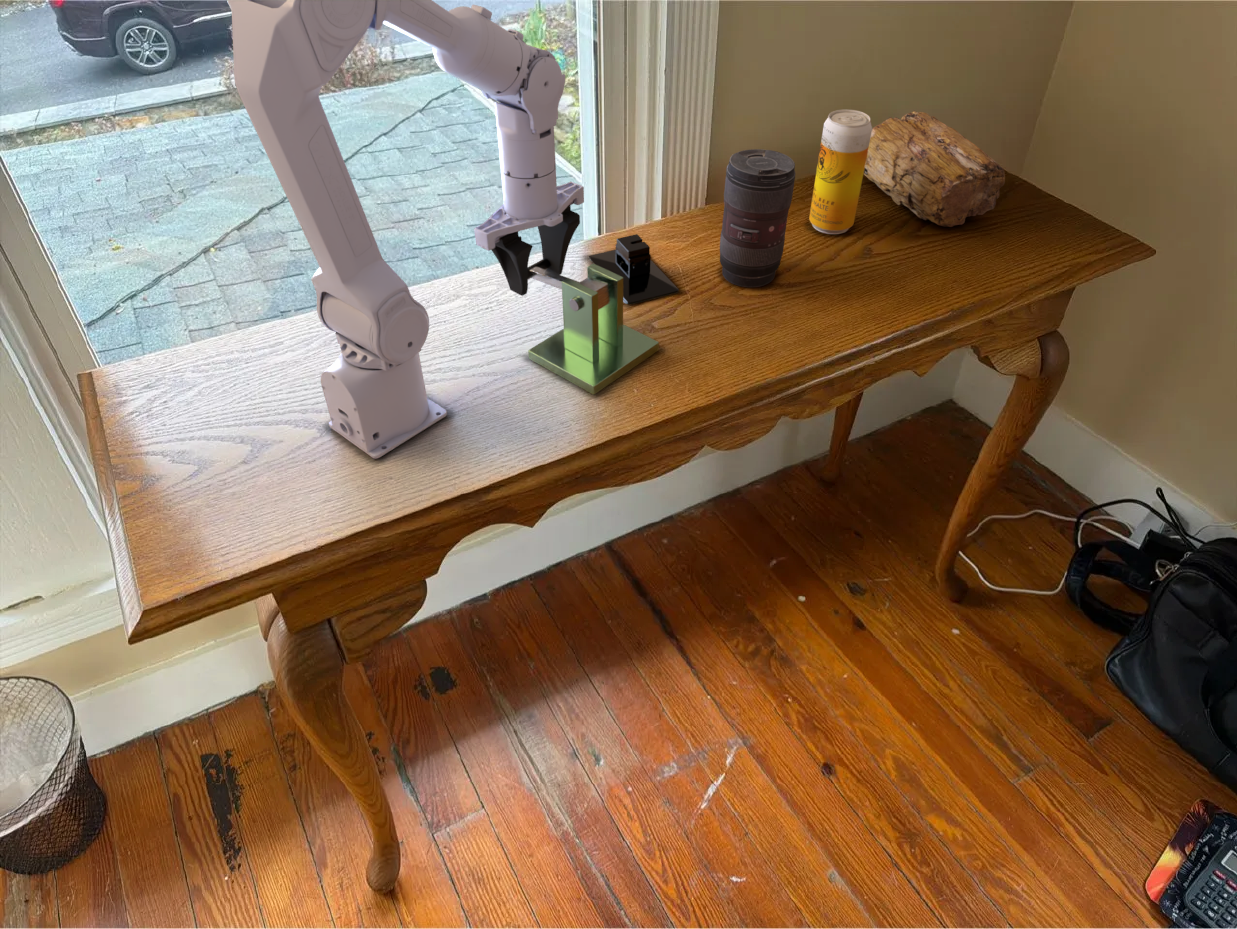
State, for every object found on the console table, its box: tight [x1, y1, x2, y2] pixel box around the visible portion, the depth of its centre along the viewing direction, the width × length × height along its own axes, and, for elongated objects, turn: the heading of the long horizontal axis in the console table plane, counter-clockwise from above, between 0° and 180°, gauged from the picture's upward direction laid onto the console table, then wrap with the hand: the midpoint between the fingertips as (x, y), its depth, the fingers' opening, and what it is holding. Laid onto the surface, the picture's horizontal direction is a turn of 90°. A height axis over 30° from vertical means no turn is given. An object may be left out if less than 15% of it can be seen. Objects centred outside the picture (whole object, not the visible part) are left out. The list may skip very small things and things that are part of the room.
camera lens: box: [719, 148, 796, 288], centre depth 110 cm, size 8×8×15 cm
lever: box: [527, 258, 610, 310], centre depth 99 cm, size 12×5×2 cm, turn 49°
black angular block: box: [588, 233, 680, 306], centre depth 113 cm, size 12×7×5 cm, turn 25°
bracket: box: [527, 263, 660, 396], centre depth 99 cm, size 10×11×10 cm
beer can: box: [808, 108, 873, 235], centre depth 120 cm, size 6×6×15 cm
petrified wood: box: [863, 110, 1006, 228], centre depth 127 cm, size 19×13×10 cm
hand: (536, 281), depth 102 cm, fingers closed on lever, 5 cm apart
